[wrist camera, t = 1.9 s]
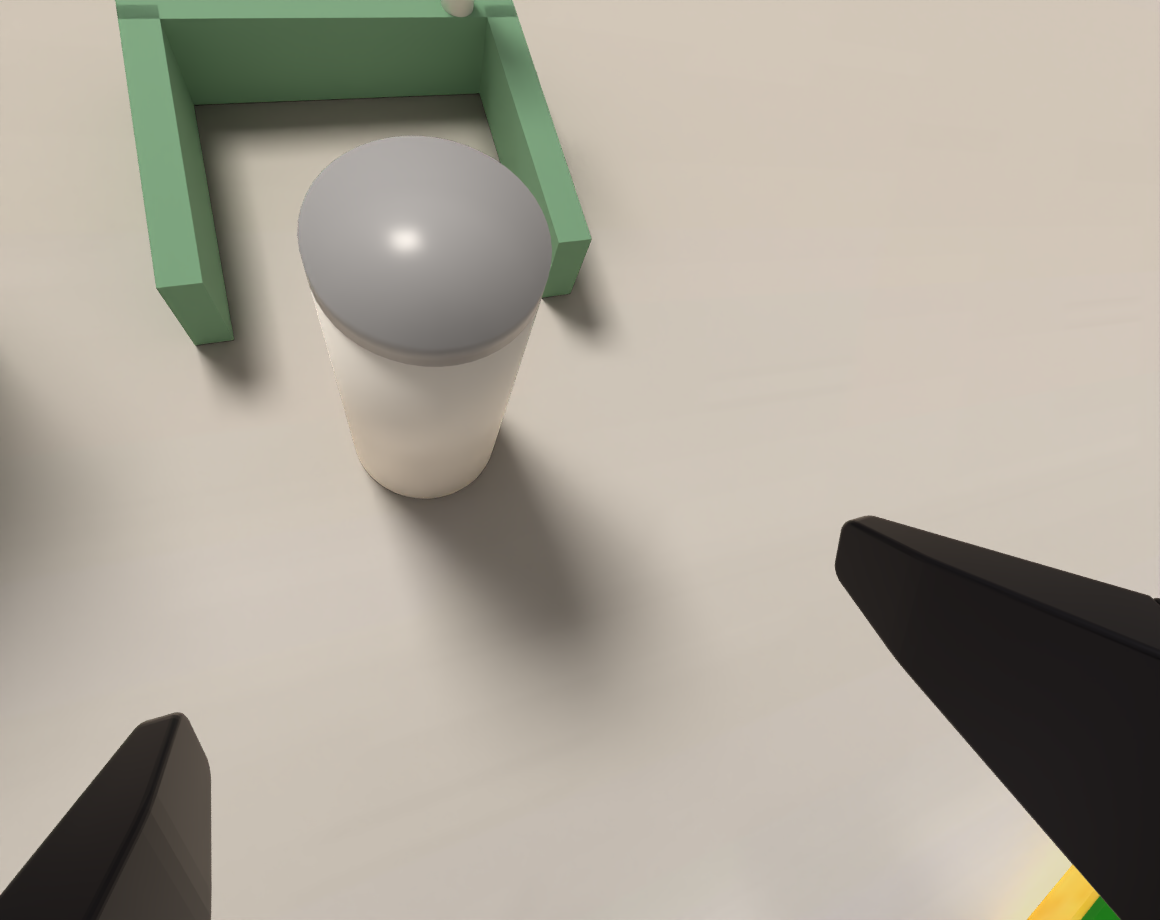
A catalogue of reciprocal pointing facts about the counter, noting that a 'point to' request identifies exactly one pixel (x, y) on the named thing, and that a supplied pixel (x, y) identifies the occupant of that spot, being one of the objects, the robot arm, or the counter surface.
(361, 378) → the ball tube
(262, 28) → the green u-shaped bracket
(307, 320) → the counter surface
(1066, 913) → the dish sponge
